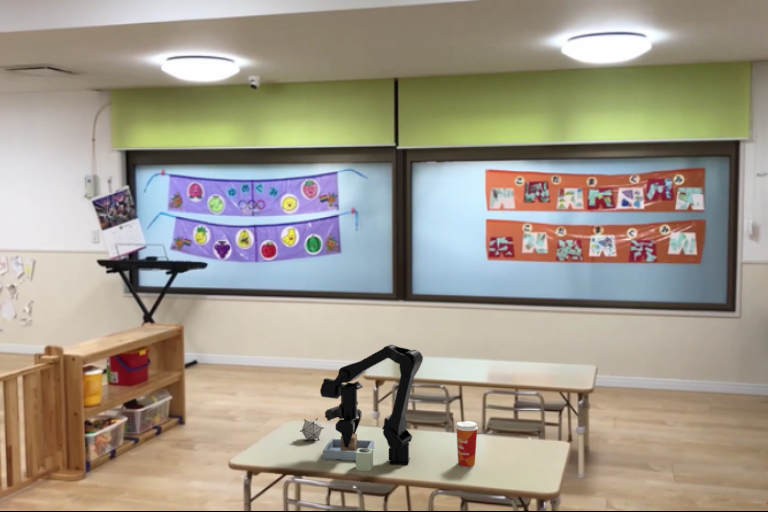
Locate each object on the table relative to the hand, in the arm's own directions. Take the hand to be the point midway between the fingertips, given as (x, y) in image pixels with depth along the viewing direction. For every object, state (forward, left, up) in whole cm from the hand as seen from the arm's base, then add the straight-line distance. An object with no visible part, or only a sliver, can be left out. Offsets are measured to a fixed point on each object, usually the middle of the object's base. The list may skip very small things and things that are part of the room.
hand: (349, 443), depth 271 cm
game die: (+17, -14, -4) cm, 22 cm away
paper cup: (-42, +5, -4) cm, 42 cm away
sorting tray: (0, 0, -4) cm, 4 cm away
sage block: (-8, +14, -4) cm, 17 cm away
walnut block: (0, 0, -3) cm, 3 cm away
